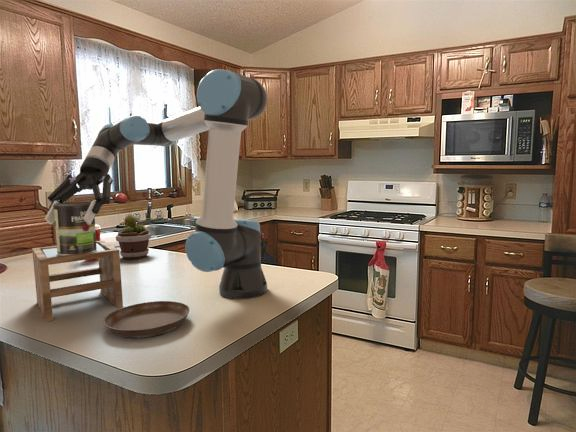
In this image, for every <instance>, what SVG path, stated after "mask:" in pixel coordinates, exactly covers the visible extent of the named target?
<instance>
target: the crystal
mask: <svg viewBox="0 0 576 432" xmlns="http://www.w3.org/2000/svg"><path fill="white" fill-rule="evenodd" d="M118 232H119V231H118ZM118 232H109V233H100V241H105V242H107V243H108V244H110V245H112V246H113V247H115V248H120V245H119V242H118V241H116V235H118Z"/></svg>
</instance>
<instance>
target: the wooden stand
mask: <svg viewBox="0 0 576 432" xmlns="http://www.w3.org/2000/svg"><path fill="white" fill-rule="evenodd" d="M96 243H98V244H99V245H100V246H101V247H102V248H103V249H104V250H105V251H97V252H89V253H81V254H73V255H65V256H58V257H50V258H47V257H46V256H45V255H44V253H43V252H42V250H43V249H52V248H57V245H51V246H43V247H34V248H33V247H32V248H31V250H32V251H31V253H32V260H33V261H32V262H33V270H34V271H33V272H34V281H35V283H34V284H35V291H36V303H37V305H38V307H39V310H40V313H41V315H42V317H43V319H44V322H51V321H53V320H54V316H53V315H54V314H53V304H52V298H57V297H64V296H69V295H76V294H81V293H86V292H87V293H88V292H91V291H97V290H98V291H99V290H100V292H101V293H102V294H103V296H105V297H106V298H107V299H108V300H109V301H110V302H111V304H113V305H114V306H115V308H120V307H124V302H123V301H124V300H123V286H122V272H121V271H122V269H121V257H120V256H121V254H120V249H118V247H113V246H112V245H110V244H108V243H107V242H105V241H96ZM102 257H103V258H102ZM94 258H98V260H97V261H98V267H92V268H87V269H79V270H73V271H67V272H65V271H64V272H59V273H53V274H50V272H49V271H50V270H49V266H50V265H49V264H51V265H57V263H59V264H65V263H64V262H66V263H72V261H73V262H80V261H79V260H81V261H85V260H87V259H94ZM95 275H99V281H94V282H87V283H81V284H75V285H70V286H68V285H67V286H63V287H57V288H56V287H55V288H52V289H51V282H52V283H53V282H58V281H65V280H71V279H77V278H83V277H91V276H95Z"/></svg>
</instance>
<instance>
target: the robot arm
mask: <svg viewBox="0 0 576 432" xmlns="http://www.w3.org/2000/svg"><path fill="white" fill-rule="evenodd" d="M196 101H197V105H198V107H195V108H193V109H191V110H188V111H185V112H182V113H179V114H177V115H174V116H172V117H171V116H170V117H169V118H165V119H163V120H160V121H157V122H154V121H147V120H146V119H145V118H144V117H142V116H141V115H138V114H134V115H130V116H128V117H126V118H124V119H123V120H121V121H119V122H118V123H116V124H112V123H111V124H109V123H108V124H105V125H104V126H102V128H101V129H100V130H99V131H98V134H97V136H96V138H95V140H94V142H93V143H92V145H91V148H90V149H89V151H88V152H87V154H86V156H85V158H84V160H83V162H82V164H81V165H80V167H79V173H78V174H77V175H76V176H73V175H71V174H68V175H67V176H66V178H65V179H64V180H63V182H61V183H60V185H58V186H57V188H55V189H54V190H53V192H51V193H50V195H48V197H47V199H48V201H49V202H50V203H51V204H50V205H49V207H48V210H47V211H48V212H47V214H46V215H45V217H44V220H45V221H46V222H47V223H48V224H49V225H51V226H52V225H54V224H55V215H54V207H53V205H54V204H57V203H66V202H67V201H68V200H69V199H70V198H72V197H73V196H74V195H76V194H77V193H80V192H82V191H85V190H91V191H92V193H93V195H94V200H92V201H90V202H91V204H90V206H89V208H88V210H87V212H86V214H85V216H84V218H83V219H84V220H85V222H86V223H87V224H88V225H91V223H92V221H93V219H94V216H95V217H96V214H98V213H99V212H100V211H101V208H102V206H104V205H109V204H110V203H111V196H112V195H111V193H112V191H111V189H112V184H113V182H114V180H113V178H112V177H111V175H110V174H109V172H110V170H111V167H112V165H113V163H114V161H115V160H116V158H117V156H118V153H120V152H121V151H122V150H125V149H126V148H129V147H131V146H133V145H134V146H135V145H140V146H160V147H170V146H173V145H175V143H176V142H177V141H179V140H182V139H185V138H188V137H191V136H194V135H197V134H200V133H204V132H207V131H208V137H207V149H206V150H207V151H206V162H205V172H204V174H205V175H204V176H205V177H204V185H203V186H204V187H203V199H202V210H201V211H202V212H201V216H199V217H198V218H197V219H196V220H195V226H194V227H195V228H194V231H193V232H192V233H190V235H189V236H188V237H187V238H186V240H185V243H184V245H185V248H184V249H185V254H186V257H187V259H188V261H190V263H191V265H192V266H193V267H194V268H195V269H196V270H197V271H198V270H199V271H201V272H203V273H211V272H214V271H215V272H216V271H219V270H221V269H222V268H223V271H222V274H221V278H220V283H219V286H218V290H219V295H220V296H221V297H222V296H223V297H225V298H229V299H238V300H239V299H253V298H256V297H259V296H263V295H265V294H266V293H267V292H268V282H267V279H266V277H265V274H264V271H263V268H262V247H261V246H262V245H261V241H262V239H261V234H262V232H261V224H260V222H259V221H257V220H251V219H234V212H235V211H234V209H235V202H236V201H235V200H236V189H237V181H238V168H239V159H240V157H239V156H240V148H241V147H240V146H241V137H242V132H243V131H245V129H246V128H248V124H249V121H252V120H255V119H257V118H259V117H260V116H261V115H263V113H264V112H265V109H266V108H267V104H268V95H267V91H266V88H265V87H264V85H263V84H262V83H261V82H260V81H258V80H257V79H255V78H253V77H249V76H247V75H243V74H242V73H238V72H235V71H233V70H229V69H220V68H219V69H218V68H217V69H214V70H211V71H209V72H208V73H206V75H204V76H203V78H201V80H200V81H199V84H198V87H197V90H196ZM101 184H102V194H101V189H100V185H101Z"/></svg>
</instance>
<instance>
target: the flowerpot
mask: <svg viewBox="0 0 576 432" xmlns="http://www.w3.org/2000/svg"><path fill="white" fill-rule="evenodd" d="M137 222H138V221H137V217H136V216H133V214H132V213H131V212H129V214H125V217H124V218H123V221H122V224H123V225H124V229H123V230H121V231H118V235H116V241H118V242H119V245H120V246H119V248H120V250H119V254H120V256H121V257H122V258H123V259H124V260H138V259H143V258H146V257H147V255H148V254H149V250H150V249H149V248H148V247H149V243H150V239H152V234H151V232H149V230H147V229H146V227H145V226H144V225H142V224H141V223H137Z"/></svg>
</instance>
